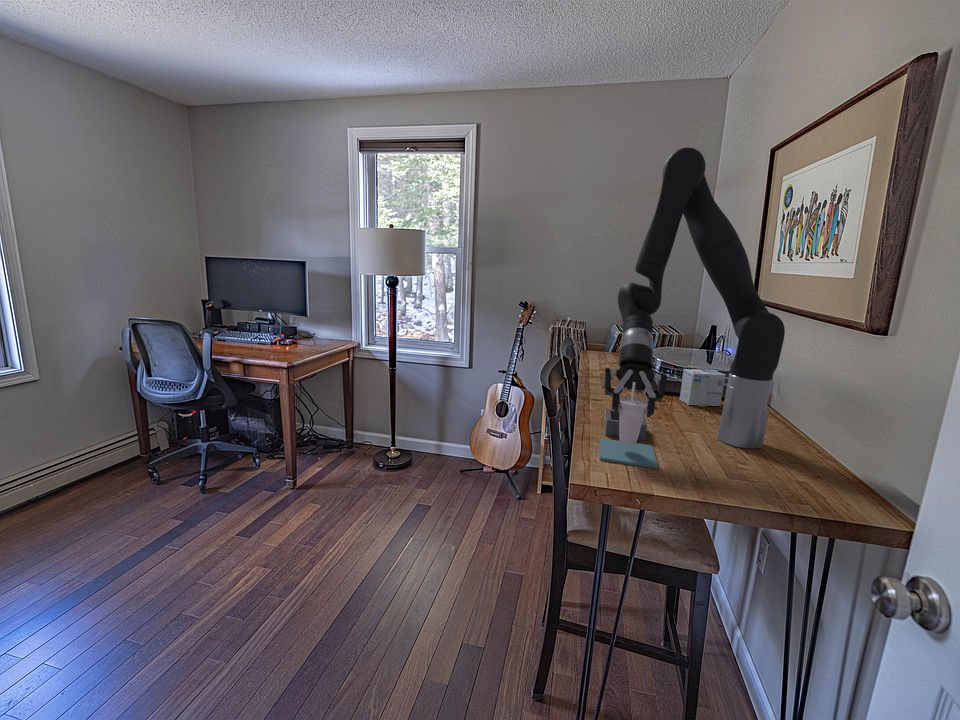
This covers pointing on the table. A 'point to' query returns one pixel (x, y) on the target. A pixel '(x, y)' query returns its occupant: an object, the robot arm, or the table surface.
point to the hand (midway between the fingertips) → (632, 413)
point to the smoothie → (631, 417)
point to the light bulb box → (702, 387)
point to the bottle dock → (614, 423)
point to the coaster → (627, 453)
